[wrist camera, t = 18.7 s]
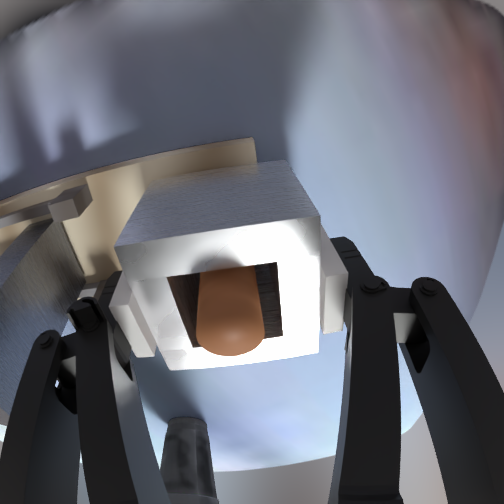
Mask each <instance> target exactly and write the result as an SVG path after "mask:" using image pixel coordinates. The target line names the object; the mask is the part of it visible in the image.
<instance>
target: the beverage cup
mask: <svg viewBox="0 0 504 504" xmlns="http://www.w3.org/2000/svg"><path fill="white" fill-rule="evenodd" d="M160 472H161V476H162V479H163V482H164V485H165V488H166V490H167V493H168V496H169V499H170V502H171V504H219V501H218V499H217V495H216V489H215V481H214V474H213V467H212V459H211V451H210V443H209V436H208V432H207V424H206V423H205V422H203V421H201V420H199V419H196V418H190V417H178V418H174V419H171V420H170V421H169V422H168V428H167V433H166V435H165V441H164V448H163V454H162V461H161V467H160Z"/></svg>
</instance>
